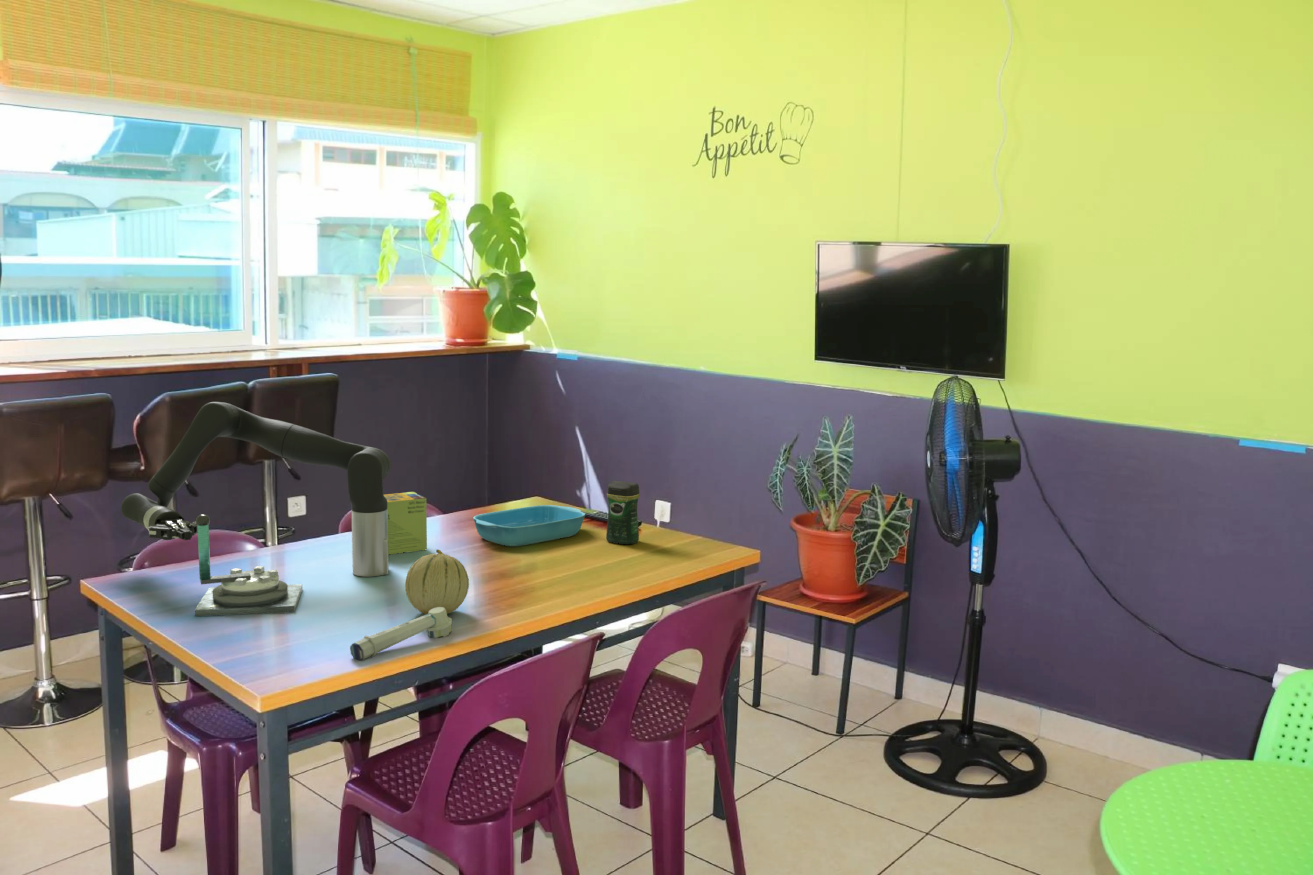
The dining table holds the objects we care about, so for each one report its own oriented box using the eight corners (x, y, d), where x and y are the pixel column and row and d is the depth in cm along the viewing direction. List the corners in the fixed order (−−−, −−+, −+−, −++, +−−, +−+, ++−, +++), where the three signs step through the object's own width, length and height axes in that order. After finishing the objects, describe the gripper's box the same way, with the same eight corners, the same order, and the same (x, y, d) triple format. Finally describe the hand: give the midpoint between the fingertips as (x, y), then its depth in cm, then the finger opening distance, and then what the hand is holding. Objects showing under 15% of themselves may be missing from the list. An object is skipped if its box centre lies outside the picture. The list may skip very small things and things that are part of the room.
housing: (302, 589, 273) (302, 576, 272) (294, 611, 256) (294, 597, 255) (209, 593, 268) (208, 579, 268) (194, 616, 251) (194, 601, 250)
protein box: (427, 550, 314) (427, 497, 312) (376, 556, 306) (375, 503, 303) (414, 542, 323) (413, 491, 320) (363, 548, 314) (362, 496, 312)
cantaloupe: (412, 626, 247) (411, 563, 245) (400, 608, 260) (399, 547, 258) (475, 619, 253) (475, 557, 251) (461, 601, 266) (460, 542, 264)
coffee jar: (642, 541, 330) (644, 481, 328) (629, 546, 324) (630, 485, 321) (615, 536, 335) (616, 477, 332) (601, 541, 328) (602, 481, 326)
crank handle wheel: (274, 578, 270) (272, 503, 267) (282, 592, 259) (280, 514, 256) (196, 586, 262) (193, 509, 259) (201, 601, 250) (198, 520, 248)
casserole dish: (552, 521, 354) (553, 500, 353) (598, 534, 339) (599, 512, 338) (458, 539, 328) (458, 516, 327) (503, 554, 313) (503, 529, 312)
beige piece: (346, 640, 227) (439, 598, 245) (351, 669, 228) (443, 625, 247) (361, 645, 223) (454, 603, 242) (366, 675, 225) (458, 630, 244)
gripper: (135, 511, 270) (158, 524, 257) (189, 504, 279) (215, 517, 266) (136, 540, 271) (159, 555, 259) (190, 533, 280) (215, 547, 267)
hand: (187, 535), depth 262 cm, fingers closed
